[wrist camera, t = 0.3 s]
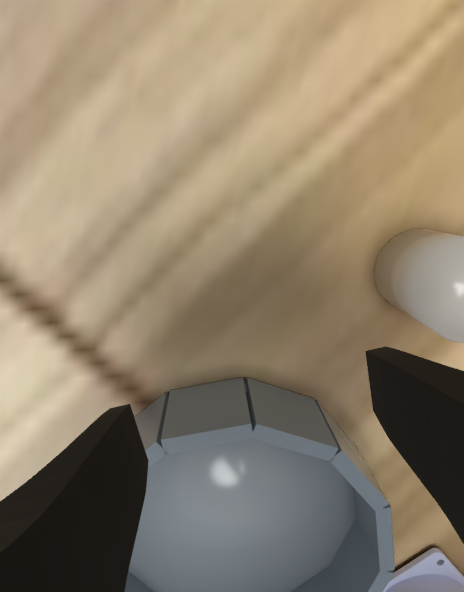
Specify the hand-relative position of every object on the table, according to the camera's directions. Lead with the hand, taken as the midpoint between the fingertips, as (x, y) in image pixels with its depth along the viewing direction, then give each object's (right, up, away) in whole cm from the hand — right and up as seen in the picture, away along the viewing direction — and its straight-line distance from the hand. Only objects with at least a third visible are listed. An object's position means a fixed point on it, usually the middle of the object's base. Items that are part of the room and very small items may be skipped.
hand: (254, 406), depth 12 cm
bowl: (-1, -10, +13) cm, 16 cm away
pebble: (+9, +5, +9) cm, 14 cm away
